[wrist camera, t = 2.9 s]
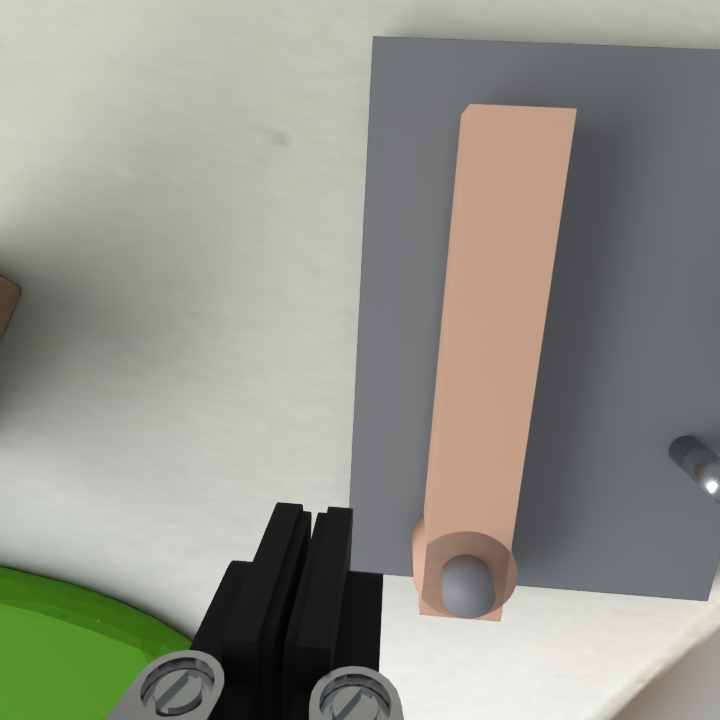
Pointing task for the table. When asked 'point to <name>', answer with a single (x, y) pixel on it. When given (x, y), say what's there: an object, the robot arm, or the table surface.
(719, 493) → the keeper
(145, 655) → the spray bottle
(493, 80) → the base board
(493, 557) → the link
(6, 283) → the wooden block
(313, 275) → the table surface
